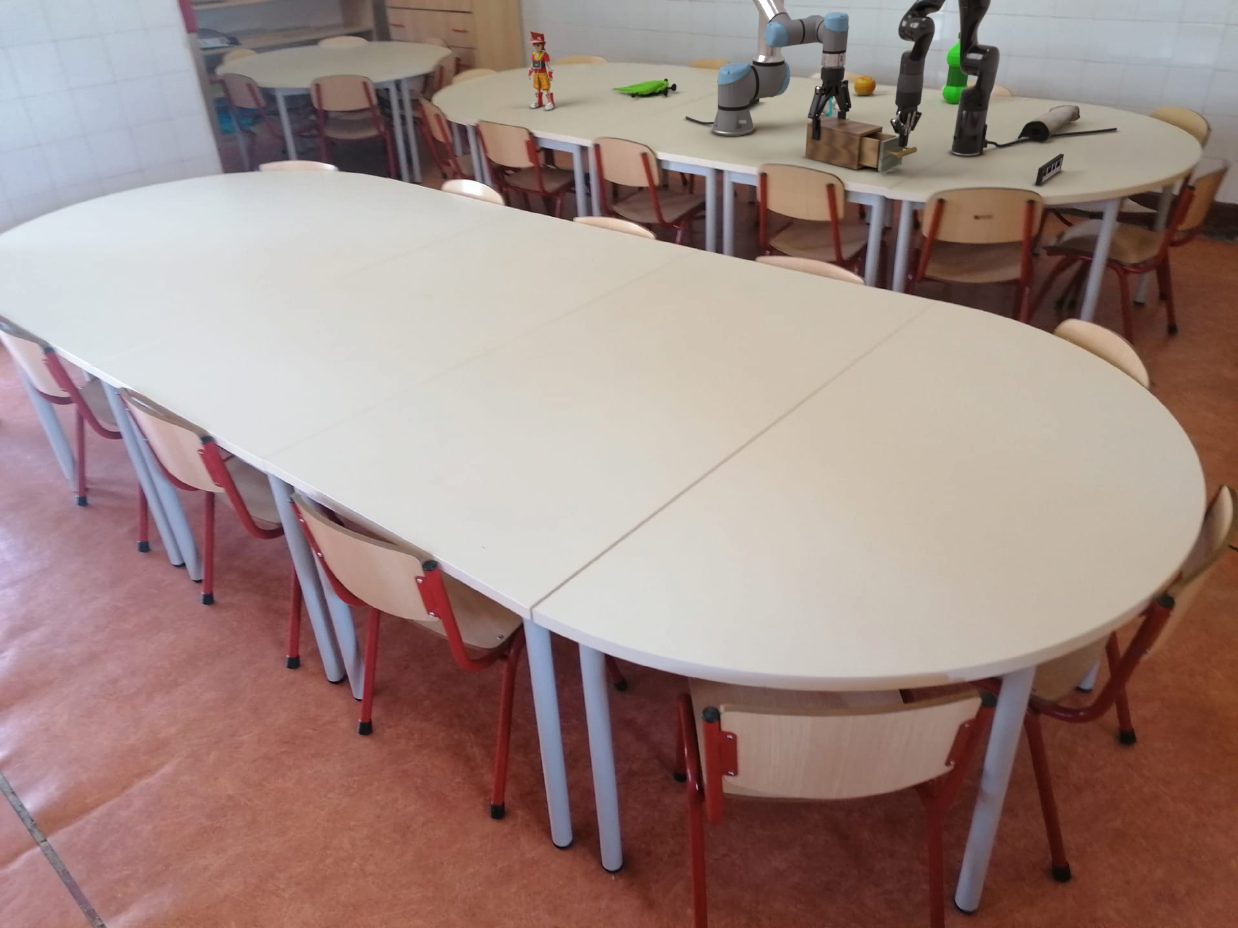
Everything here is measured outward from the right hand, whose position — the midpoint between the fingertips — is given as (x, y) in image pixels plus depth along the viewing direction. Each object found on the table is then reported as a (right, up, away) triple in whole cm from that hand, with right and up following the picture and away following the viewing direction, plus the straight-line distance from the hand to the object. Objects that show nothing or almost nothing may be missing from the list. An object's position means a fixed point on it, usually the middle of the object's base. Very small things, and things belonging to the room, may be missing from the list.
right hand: (902, 146), depth 281 cm
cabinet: (-14, +3, +20) cm, 25 cm away
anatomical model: (-7, +33, +64) cm, 72 cm away
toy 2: (-79, +65, +116) cm, 155 cm away
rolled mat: (+62, +18, +35) cm, 74 cm away
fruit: (+13, +54, +92) cm, 107 cm away
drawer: (-6, -2, +11) cm, 13 cm away
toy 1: (-122, +53, +102) cm, 168 cm away
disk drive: (-39, +47, +87) cm, 106 cm away
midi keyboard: (+43, -12, -6) cm, 45 cm away
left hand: (-19, +11, +21) cm, 30 cm away
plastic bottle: (+44, +44, +74) cm, 97 cm away
